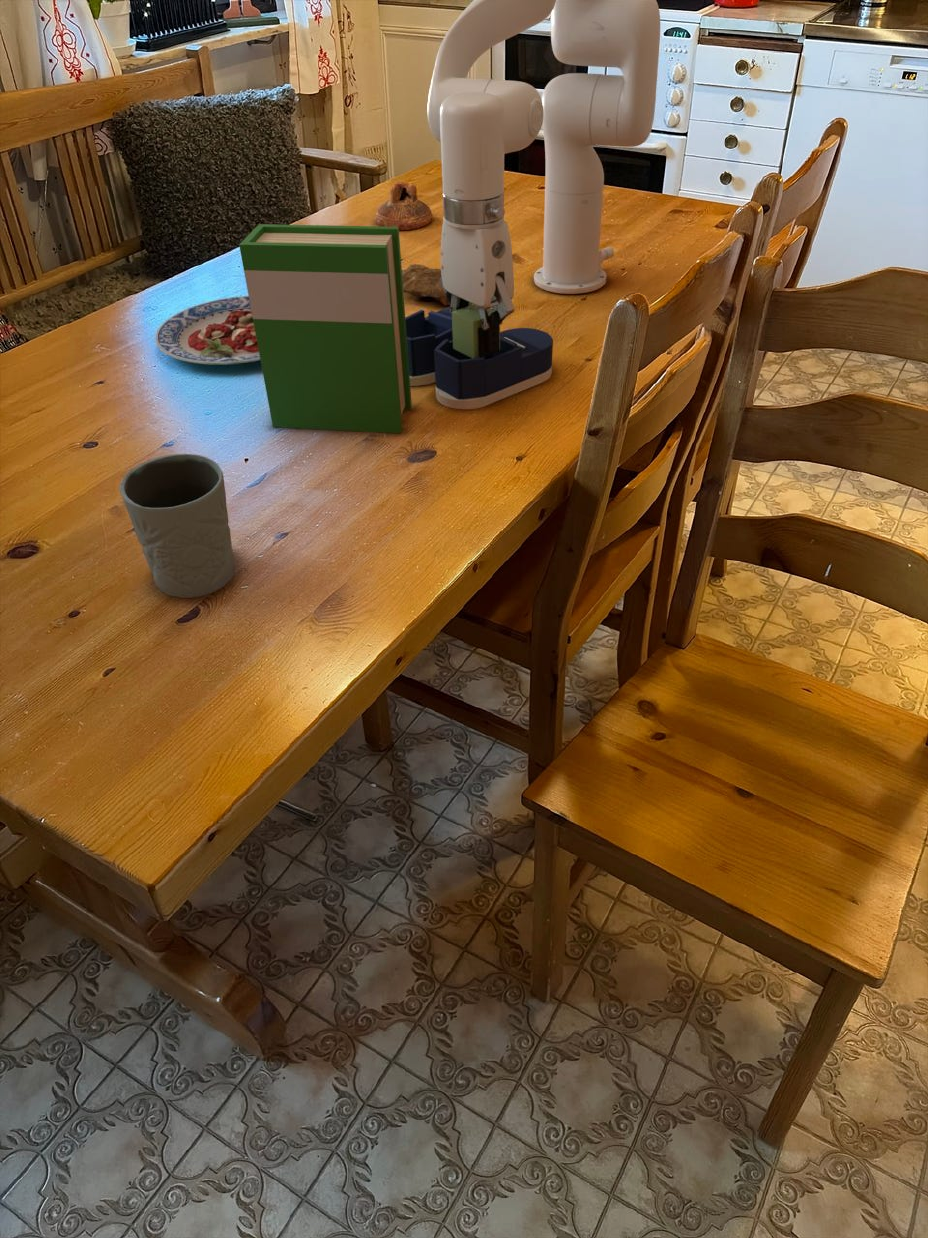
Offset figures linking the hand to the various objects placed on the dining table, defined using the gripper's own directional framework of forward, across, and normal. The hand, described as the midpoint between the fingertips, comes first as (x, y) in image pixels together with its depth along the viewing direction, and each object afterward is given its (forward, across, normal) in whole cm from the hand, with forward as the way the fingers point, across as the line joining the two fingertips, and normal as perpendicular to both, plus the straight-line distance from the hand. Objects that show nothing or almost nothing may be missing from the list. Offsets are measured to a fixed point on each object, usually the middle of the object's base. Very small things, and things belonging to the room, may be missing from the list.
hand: (476, 346), depth 125 cm
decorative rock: (+7, +33, -17) cm, 38 cm away
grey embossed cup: (+7, -13, +50) cm, 52 cm away
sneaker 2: (+7, 0, -3) cm, 7 cm away
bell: (+7, +68, -36) cm, 78 cm away
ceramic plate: (+7, +39, +17) cm, 43 cm away
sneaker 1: (+7, +12, -2) cm, 13 cm away
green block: (0, 0, 0) cm, 0 cm away
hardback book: (+7, +6, +18) cm, 21 cm away
